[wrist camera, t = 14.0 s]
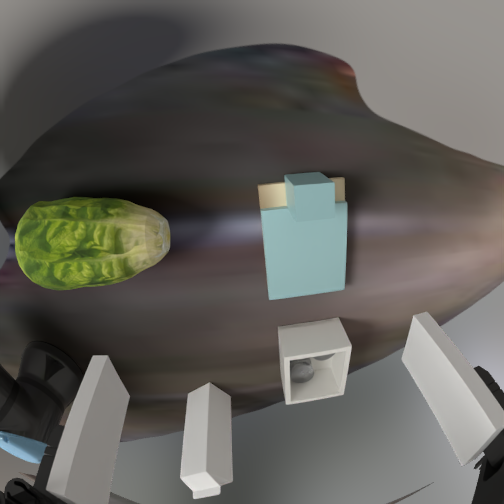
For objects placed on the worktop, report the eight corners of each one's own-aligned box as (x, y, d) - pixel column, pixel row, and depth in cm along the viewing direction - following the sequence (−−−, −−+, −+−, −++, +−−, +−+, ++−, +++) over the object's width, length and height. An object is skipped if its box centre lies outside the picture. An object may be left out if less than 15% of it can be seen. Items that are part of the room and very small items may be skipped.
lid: (268, 296, 43) (273, 322, 37) (257, 177, 36) (261, 189, 30) (342, 285, 43) (355, 309, 38) (344, 170, 36) (362, 180, 30)
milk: (187, 392, 53) (177, 494, 33) (210, 381, 52) (204, 489, 32) (209, 406, 55) (205, 503, 35) (231, 396, 54) (233, 498, 34)
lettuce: (183, 259, 41) (168, 307, 30) (59, 265, 40) (23, 305, 30) (173, 176, 36) (149, 200, 25) (41, 194, 35) (-6, 221, 25)
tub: (280, 375, 52) (285, 404, 45) (277, 326, 46) (283, 357, 40) (333, 366, 52) (343, 394, 45) (338, 317, 47) (351, 346, 40)
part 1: (286, 371, 50) (289, 383, 47) (289, 355, 48) (292, 368, 46) (308, 370, 50) (311, 382, 48) (312, 354, 49) (316, 366, 46)
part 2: (306, 349, 48) (310, 361, 45) (310, 331, 46) (314, 343, 44) (329, 347, 48) (333, 359, 46) (333, 329, 47) (338, 341, 44)
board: (267, 287, 43) (268, 290, 42) (257, 184, 37) (258, 185, 36) (341, 277, 43) (342, 280, 43) (342, 177, 37) (344, 178, 36)
